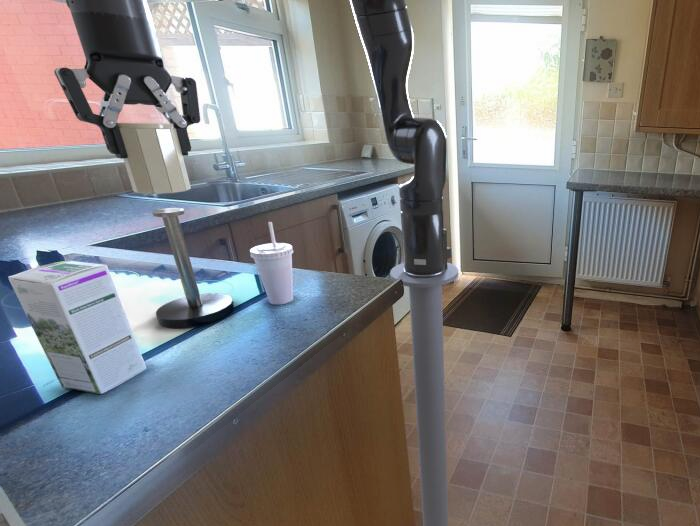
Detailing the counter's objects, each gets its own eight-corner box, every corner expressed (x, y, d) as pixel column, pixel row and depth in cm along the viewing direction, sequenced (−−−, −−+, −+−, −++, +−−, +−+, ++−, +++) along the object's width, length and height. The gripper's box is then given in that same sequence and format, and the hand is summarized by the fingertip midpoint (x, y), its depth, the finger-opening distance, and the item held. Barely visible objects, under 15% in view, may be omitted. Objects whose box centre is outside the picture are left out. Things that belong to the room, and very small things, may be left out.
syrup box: (149, 368, 52) (110, 262, 47) (99, 397, 47) (49, 280, 41) (111, 362, 53) (69, 257, 48) (58, 390, 48) (3, 275, 42)
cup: (179, 185, 63) (162, 122, 59) (197, 190, 59) (181, 124, 56) (127, 189, 58) (106, 121, 54) (144, 195, 55) (122, 123, 51)
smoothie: (307, 300, 73) (295, 223, 67) (269, 311, 68) (252, 230, 63) (292, 290, 77) (278, 216, 71) (254, 299, 72) (237, 222, 67)
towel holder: (218, 296, 73) (193, 200, 66) (245, 311, 68) (221, 210, 61) (148, 315, 65) (112, 210, 59) (173, 335, 60) (137, 222, 53)
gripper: (35, -3, 43) (92, 163, 50) (193, 24, 54) (223, 156, 61) (19, 4, 47) (75, 157, 53) (170, 28, 58) (201, 152, 64)
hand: (154, 156), depth 57 cm, fingers closed on cup, 6 cm apart
